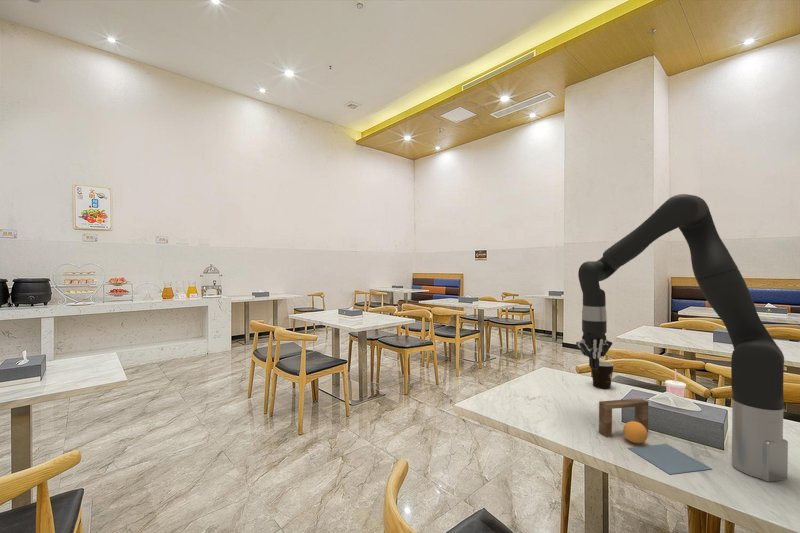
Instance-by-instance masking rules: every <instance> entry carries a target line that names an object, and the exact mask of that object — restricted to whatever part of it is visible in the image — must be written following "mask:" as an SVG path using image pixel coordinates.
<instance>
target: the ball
mask: <svg viewBox="0 0 800 533" xmlns="http://www.w3.org/2000/svg"><path fill="white" fill-rule="evenodd" d="M622 430H623V435H624V436H625V437H626V439H627V440H628V441H629V442H631V443H634V444H643V443H645V442H646V441H647V439H648V435H649V432H648V433H647V430H646V428H645V427H644V426H643V425H642V424H641V423H639V422H636V421H635V420H631V421H628V422H626V423H625V424H624V426H623V429H622Z"/></svg>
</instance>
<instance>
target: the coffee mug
mask: <svg viewBox="0 0 800 533" xmlns="http://www.w3.org/2000/svg"><path fill="white" fill-rule="evenodd" d="M614 366H615V365H614V364H613V363H611V362H608V361H603V360H599V368H598V369H591V368H590V370H591V377H592V384H593V387H594V388H596V389H599V390H610V389H611V387H612V379H613V372H614Z"/></svg>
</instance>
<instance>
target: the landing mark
mask: <svg viewBox="0 0 800 533" xmlns="http://www.w3.org/2000/svg"><path fill="white" fill-rule="evenodd" d="M627 449H628V450H629V451H631V452H633V453H634V454H635V455H637V456H639V457H641V458H642V459H643V460H645V461H647V462H648V463H650V464H652V465H653V466H655V467H656V468H659V470H661V471H663V472H665V473H666V474H668V475H669V476H671V475H678V474H685V473H686V474H687V473H693V472H701V471H710V470H713V468H712V467H711V466H709V465H706V464H704V463H703V462H701V461H699V460H697V459H696V458H693V457H692V456H689V455H688V454H686V453H684V452H683V451H681V450H679V449H677V448H675V447H673V446H672V445H669V444H668V443H660V444H659V443H658V444H651V445H650V444H649V445H640V446H632V447H627Z"/></svg>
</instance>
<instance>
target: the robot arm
mask: <svg viewBox="0 0 800 533" xmlns="http://www.w3.org/2000/svg"><path fill="white" fill-rule="evenodd" d="M676 229H679V231H680V232H681V234H682V235H683V237H684V240H685V241H686V243H687V245H688V247H689V253H690V260H691V261H690V262H691V267H692V272H693V275H694V278H695V280H696V282H697V284H698V286H699V289H700V291H701V293H702V295H703V296H704V298H705V299H706V301H707V302H708V304H709V305H710V306H711V308H712V309H713V311H714V312H715V313H716V315H717V316H718V317H719V319H720V320H721V321H722V322H723V325H724V326H725V329H726V331H727V333H728V336H729V338H730V341H731V344H732V346H733V351H732V353H731V360H730V362H731V363H730V364H731V365H730V370H731V372H730V373H731V374H730V375H731V376H730V378H731V380H730V382H731V383H730V385H731V387H730V388H731V391H732V392H731V393H732V395H731V396H732V404H731V406H732V408H731V409H732V411H731V412H732V414H731V465H732V467H733V468H735V469H736V470H738V471H739V472H741V473H744V474H746V475H748V476H751V477H754V478H758V479H760V480H763V481H765V482H768V483H769V482H770V483H772V482H779V481H785V480H788V469H789V466H788V463H789V462H788V460H789V459H788V458H789V457H788V454H789V452H788V451H789V450H788V449H789V442H788V440H787V439H784V435H783V434H784V401H785V400H784V398H785V397H784V375H785V374H784V368H785V367H784V365H785V356H784V353H783V351H782V350H781V349H780V347H779V346H778V344H777V342H776V341H775V340H774V339H773V337H772V335H771V334H770V332H769V331H768V329H767V327H766V326H765V325H764V324H763V322H762V320H761V318H760V316H759V314H758V311H757V308H756V306H755V302H754V299H753V297H752V294H751V293H750V290H749V288H748V286H747V283H746V281H745V279H744V277H743V275H742V273H741V271H740V269H739V267H738V266H737V264H736V262H735V261H734V259H733V257H732V255H731V253H730V252H729V249H728V248H727V247H726V245H725V243H724V242H723V240H722V238H721V237H720V234H719V233H718V231H717V227H716V225H715V222H714V220H713V216H712V214H711V211H710V207H709V205H708V204H707V202H706V201H705V200H704V198H702V197H700V196H697V195H694V194H688V193H687V194H686V193H682V194H681V193H679V194H676V195H673V196H671V197H669V198H668V199H667V200H666V201H664V203H662V204H661V205H660V206H659V207H658V208H657V209H656V210H655V211H654V212H653V213H652V214H651V215H650V216H649V217H647V218H646V219H645V220H644V221H643V222H642V223H641V224H640V225H639V226H637V227H636V228H635V229H633V230H632V231H631V232H629V233H628V234H627V235H625V236H624V237H622V238H621V239H620V240H618V241H617V242H615V243H614V244H612V245H611V246H610V247H607V249H606V250H604V251H603V254H602V257H601V258H600V259H598V260H596V261H594V260H593V261H590V260H589V261H588V260H587V261H584V262H583V263H581V265H580V266H579V268H578V271H577V272H578V275H577V276H578V280H579V284H580V289H581V292H582V309H581V332H582V336H581V340H580V341H576V342H575V345H576V346H577V348H578V349H579V350H580V351H581V353H582V354H583V356H585V357H588V359H589V360H588V362H589V363H588V366H589V367H590V370H591V369H598V368H599V361H600V359H601V358H602V357H606V354H607V353H608V351H609V350H610V348H611V347H612V345H613V342H612V341H609V340H608V339H607V335H606V334H607V331H608V330H607V327H608V326H607V318H608V317H607V308H606V307H607V306H606V304H607V303H606V300H607V299H606V297H607V296H606V292H605V291H604V289H602V288H601V286H600V282H602V281H605V280H607V279H608V278H610V277H611V276H612V275H613V274H614V273H616V272H617V271H618V270H619V269H620V268H621V267H623V266H624V265H627V264H628V263H629V262H630V261H632V260H634V259H635V258H637V257H638V256H639V255H640V254H641V253H643V252H644V251H645V250H646V249H647V248H648V247H649V246H650V245H651V244H653V243H654V242H655V241H656V240H658V239H659V238H661V237H662V236H664V235H666V234H667V233H670V232H672V231H674V230H676Z"/></svg>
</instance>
